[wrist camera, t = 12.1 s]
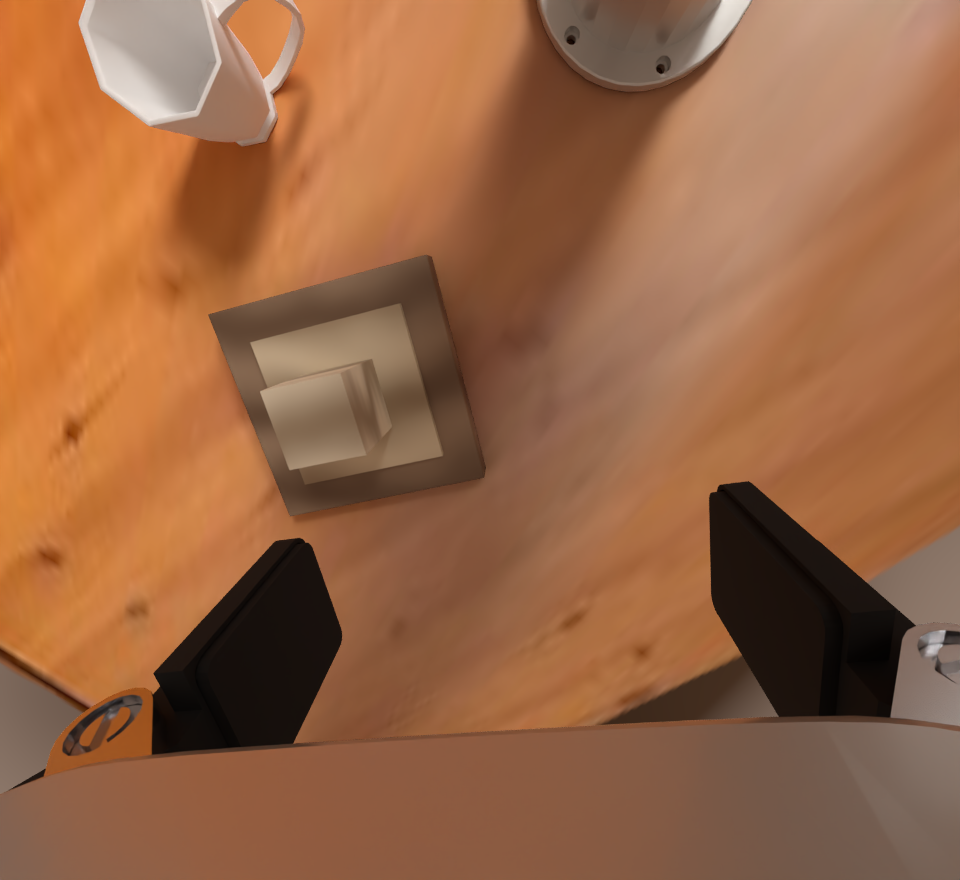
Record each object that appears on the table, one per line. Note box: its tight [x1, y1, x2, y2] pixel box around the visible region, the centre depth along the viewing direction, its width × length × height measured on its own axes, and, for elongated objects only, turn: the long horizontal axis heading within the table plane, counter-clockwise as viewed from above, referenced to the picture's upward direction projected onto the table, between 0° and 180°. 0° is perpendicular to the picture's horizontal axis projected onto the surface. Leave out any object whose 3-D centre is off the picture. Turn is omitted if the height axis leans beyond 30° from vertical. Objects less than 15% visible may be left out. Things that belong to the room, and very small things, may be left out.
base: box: [209, 255, 486, 516], centre depth 33 cm, size 16×16×2 cm
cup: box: [79, 0, 305, 146], centre depth 25 cm, size 7×10×8 cm
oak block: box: [260, 359, 392, 470], centre depth 29 cm, size 5×5×6 cm
